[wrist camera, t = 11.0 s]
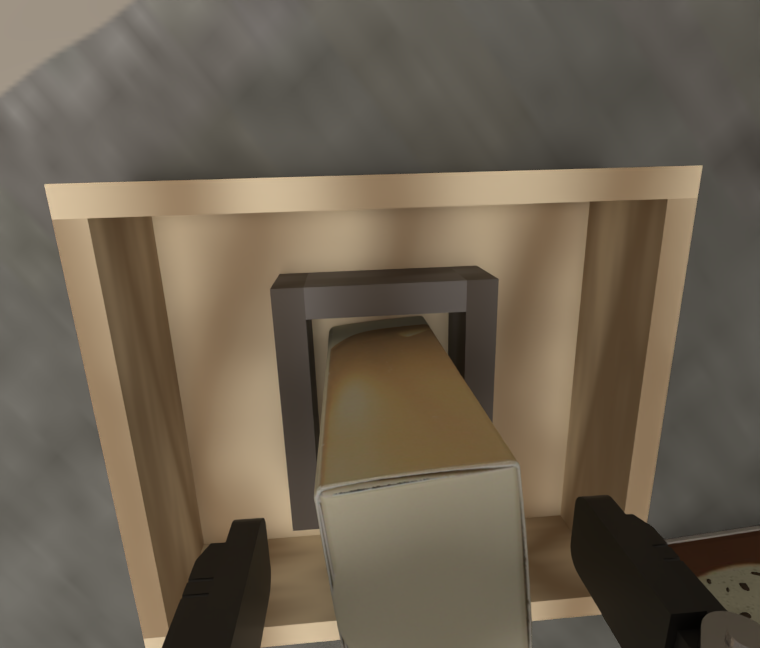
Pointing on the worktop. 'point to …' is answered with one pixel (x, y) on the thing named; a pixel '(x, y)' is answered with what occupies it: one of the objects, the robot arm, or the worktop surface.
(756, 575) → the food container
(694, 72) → the worktop surface
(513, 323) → the walled box
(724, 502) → the worktop surface
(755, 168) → the worktop surface
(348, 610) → the skincare box
